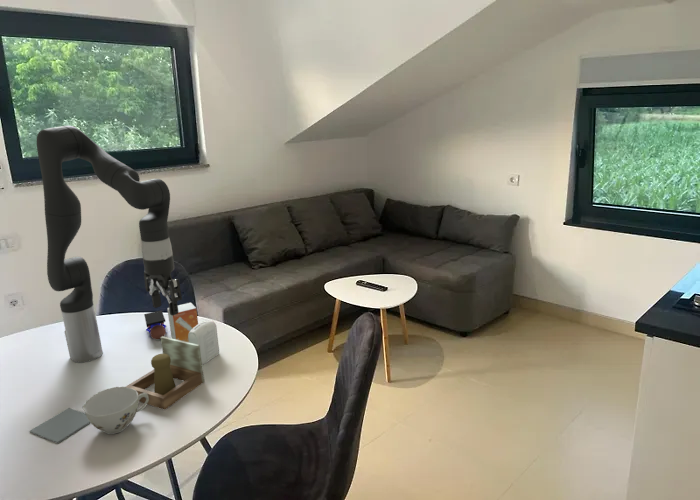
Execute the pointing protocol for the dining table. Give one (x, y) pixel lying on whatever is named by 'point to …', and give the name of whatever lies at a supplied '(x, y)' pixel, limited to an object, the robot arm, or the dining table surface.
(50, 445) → the dining table surface
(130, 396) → the teacup
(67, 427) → the mat
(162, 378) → the cork
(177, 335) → the small box
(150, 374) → the cold frame
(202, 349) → the photo printer
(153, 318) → the figurine character
